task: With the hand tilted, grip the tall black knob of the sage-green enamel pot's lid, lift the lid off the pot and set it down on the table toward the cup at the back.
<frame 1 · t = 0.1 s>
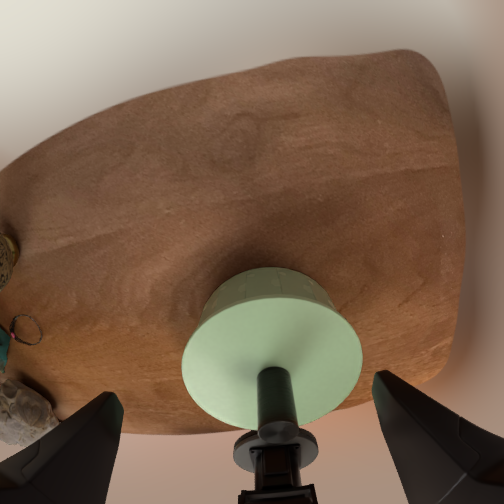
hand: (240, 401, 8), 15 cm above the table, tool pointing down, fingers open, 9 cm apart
pot: (269, 330, 25), on the table
necklace: (26, 328, 26), on the table
lid: (273, 373, 19), point 6 cm above the table, touching pot
stone: (13, 382, 28), point 1 cm above the table, touching figurine, toy
cup: (12, 248, 23), on the table
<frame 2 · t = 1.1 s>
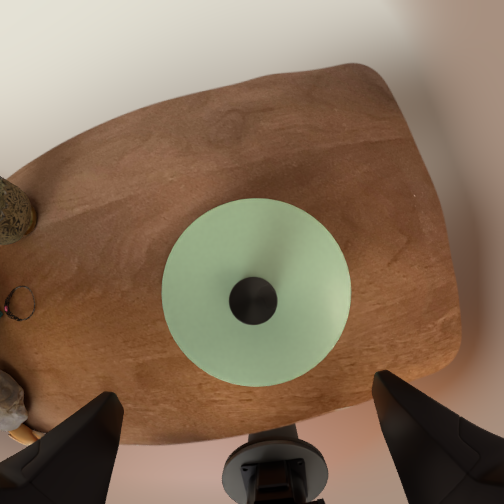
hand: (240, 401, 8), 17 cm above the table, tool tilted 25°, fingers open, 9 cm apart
necklace: (21, 304, 26), on the table
lid: (255, 294, 20), point 6 cm above the table, touching pot
toy: (15, 435, 23), point 2 cm above the table, touching stone
cup: (30, 221, 27), on the table
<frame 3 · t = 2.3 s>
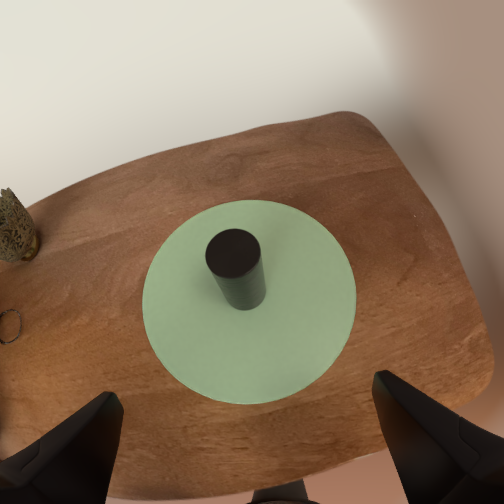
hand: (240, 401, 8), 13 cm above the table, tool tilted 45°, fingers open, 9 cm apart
necklace: (8, 328, 23), on the table
lid: (246, 293, 17), point 6 cm above the table, touching pot
cup: (32, 250, 28), on the table
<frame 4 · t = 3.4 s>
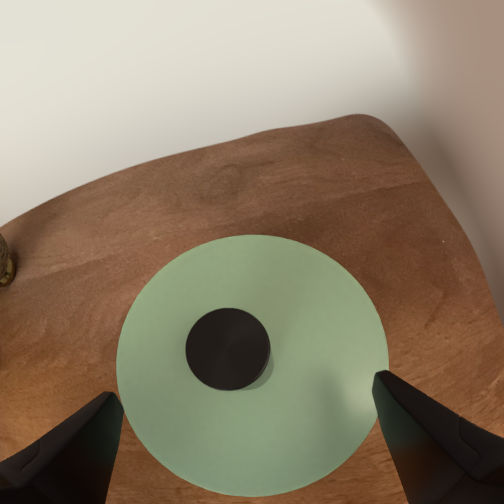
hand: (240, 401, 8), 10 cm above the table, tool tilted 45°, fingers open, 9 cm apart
lid: (247, 364, 13), point 6 cm above the table, touching pot
cup: (9, 275, 23), on the table
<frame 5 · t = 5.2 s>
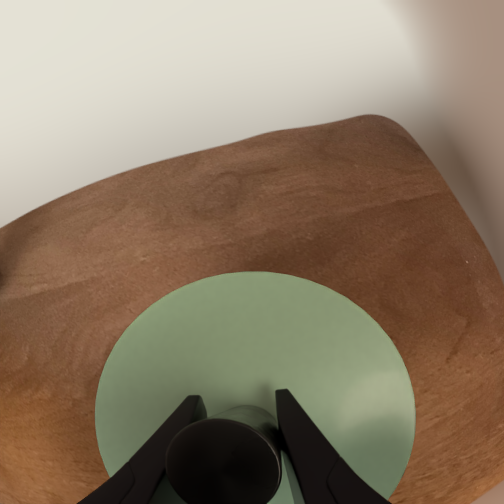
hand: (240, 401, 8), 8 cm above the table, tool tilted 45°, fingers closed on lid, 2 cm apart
lid: (248, 433, 9), point 6 cm above the table, touching gripper, pot
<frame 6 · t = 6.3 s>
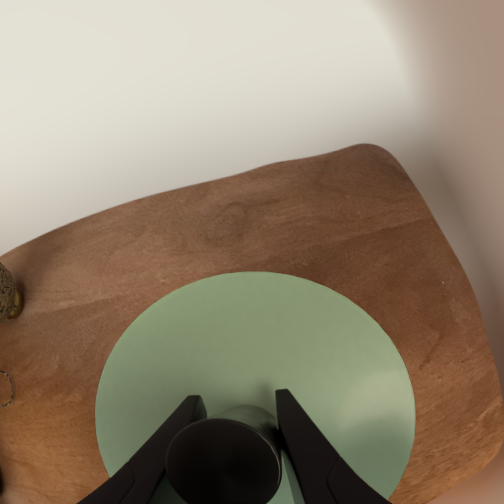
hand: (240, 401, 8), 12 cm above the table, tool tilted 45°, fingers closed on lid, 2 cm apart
necklace: (0, 389, 19), on the table
lid: (248, 433, 9), point 10 cm above the table, touching gripper
cup: (16, 306, 24), on the table
when the fingers open (3 cm above the table, at t = 12.5 s): lid stays where it is, point 1 cm above the table.
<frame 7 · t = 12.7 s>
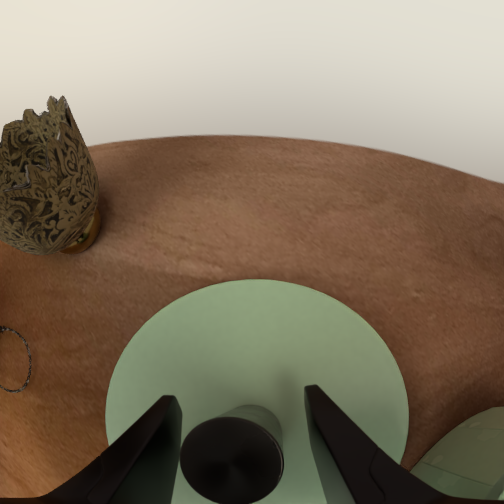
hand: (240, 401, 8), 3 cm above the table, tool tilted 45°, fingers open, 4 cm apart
necklace: (6, 358, 12), on the table
lid: (251, 431, 10), point 1 cm above the table
cup: (83, 234, 16), on the table
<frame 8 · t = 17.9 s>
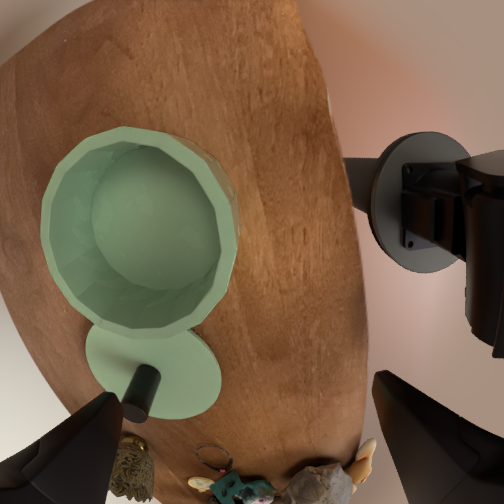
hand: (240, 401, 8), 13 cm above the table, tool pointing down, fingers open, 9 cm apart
pot: (155, 220, 20), on the table
figurine: (228, 501, 25), point 5 cm above the table, touching pocket watch, stone
pocket watch: (201, 483, 32), on the table, touching figurine
necklace: (216, 456, 29), on the table
lid: (150, 370, 23), point 1 cm above the table
stone: (297, 486, 30), point 1 cm above the table, touching figurine, toy
toy: (364, 475, 28), point 2 cm above the table, touching stone
cup: (136, 439, 28), on the table
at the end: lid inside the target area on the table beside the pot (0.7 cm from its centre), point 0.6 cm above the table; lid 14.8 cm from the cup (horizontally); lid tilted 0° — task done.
